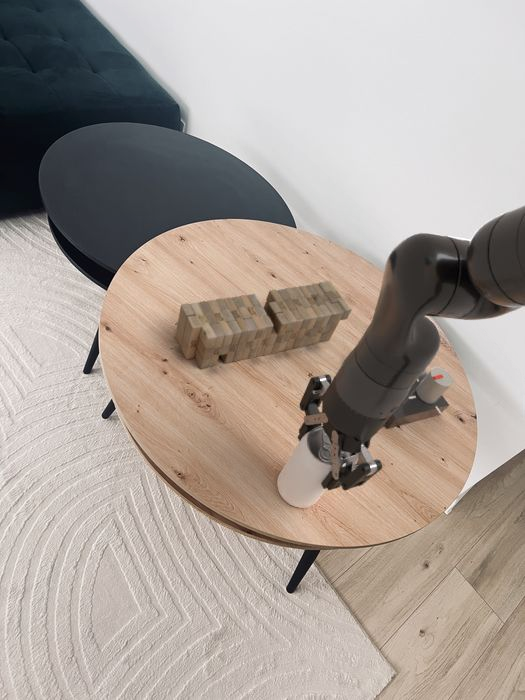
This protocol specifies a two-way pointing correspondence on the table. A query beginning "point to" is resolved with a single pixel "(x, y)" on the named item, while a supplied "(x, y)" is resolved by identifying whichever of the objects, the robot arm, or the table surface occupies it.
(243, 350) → the block tower
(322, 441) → the can
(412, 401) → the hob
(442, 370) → the knob
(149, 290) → the table surface
